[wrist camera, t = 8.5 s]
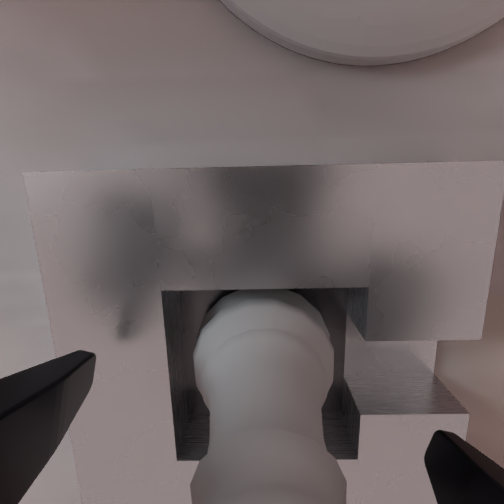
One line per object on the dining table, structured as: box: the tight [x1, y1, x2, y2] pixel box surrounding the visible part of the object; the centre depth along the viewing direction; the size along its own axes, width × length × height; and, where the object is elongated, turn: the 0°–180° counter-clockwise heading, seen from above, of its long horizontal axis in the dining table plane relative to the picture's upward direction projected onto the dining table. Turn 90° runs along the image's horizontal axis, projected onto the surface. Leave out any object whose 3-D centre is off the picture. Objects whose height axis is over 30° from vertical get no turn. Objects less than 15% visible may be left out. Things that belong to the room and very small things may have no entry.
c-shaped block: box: [23, 161, 504, 504], centre depth 11 cm, size 12×12×2 cm
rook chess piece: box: [190, 289, 347, 504], centre depth 7 cm, size 4×4×8 cm
